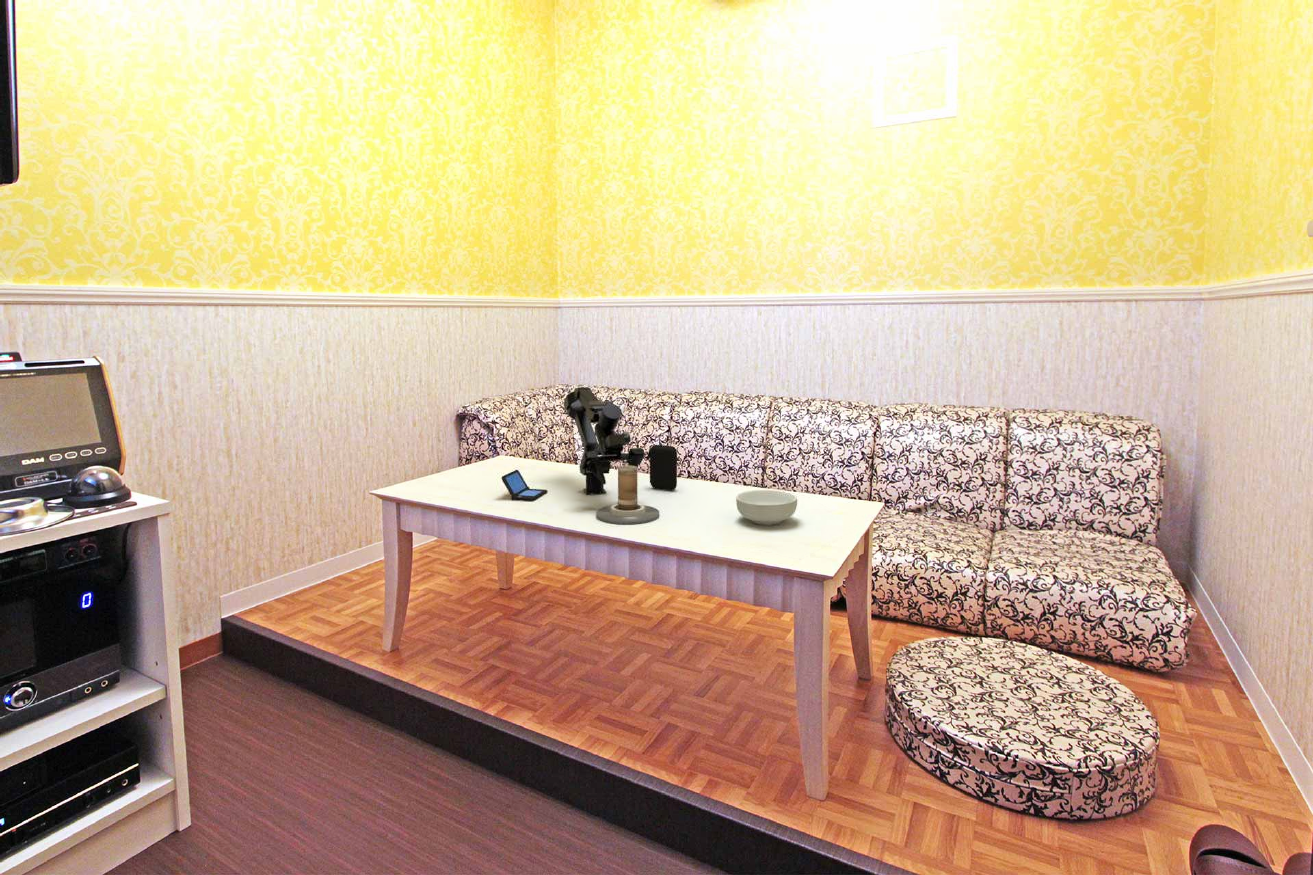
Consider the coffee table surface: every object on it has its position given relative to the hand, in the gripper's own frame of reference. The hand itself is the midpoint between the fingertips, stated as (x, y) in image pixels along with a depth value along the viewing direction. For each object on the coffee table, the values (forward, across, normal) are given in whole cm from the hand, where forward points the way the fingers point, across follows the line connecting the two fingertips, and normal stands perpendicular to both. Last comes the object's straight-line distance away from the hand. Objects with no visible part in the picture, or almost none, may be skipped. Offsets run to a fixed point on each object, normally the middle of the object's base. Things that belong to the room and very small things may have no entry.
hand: (619, 482), depth 211 cm
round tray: (+10, 0, +1) cm, 11 cm away
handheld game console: (-13, -22, +26) cm, 36 cm away
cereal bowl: (+25, +34, -13) cm, 43 cm away
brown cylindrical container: (+10, 0, +1) cm, 10 cm away
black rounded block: (-7, +22, +20) cm, 30 cm away
